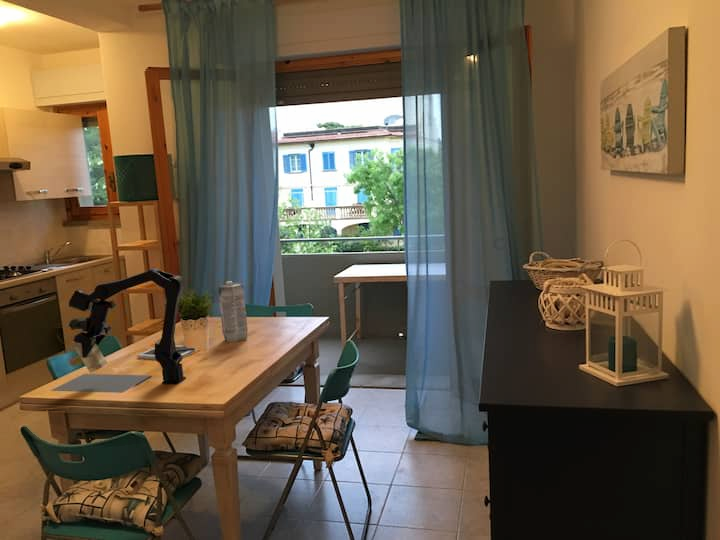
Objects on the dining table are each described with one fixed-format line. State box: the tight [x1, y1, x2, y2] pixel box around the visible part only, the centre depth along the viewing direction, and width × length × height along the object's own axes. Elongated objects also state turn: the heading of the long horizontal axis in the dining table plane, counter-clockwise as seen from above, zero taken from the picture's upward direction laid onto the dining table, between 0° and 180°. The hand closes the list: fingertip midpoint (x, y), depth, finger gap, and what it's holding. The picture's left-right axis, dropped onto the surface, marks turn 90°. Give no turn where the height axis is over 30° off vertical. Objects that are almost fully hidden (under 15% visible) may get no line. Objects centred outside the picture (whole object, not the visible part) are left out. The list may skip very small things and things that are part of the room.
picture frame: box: [136, 344, 196, 360], centre depth 257 cm, size 16×3×21 cm
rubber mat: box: [50, 373, 153, 394], centre depth 223 cm, size 30×18×1 cm, turn 76°
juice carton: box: [217, 280, 248, 343], centre depth 272 cm, size 9×10×27 cm
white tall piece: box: [71, 341, 108, 374], centre depth 219 cm, size 5×5×13 cm
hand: (87, 355), depth 219 cm, fingers closed on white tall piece, 5 cm apart
